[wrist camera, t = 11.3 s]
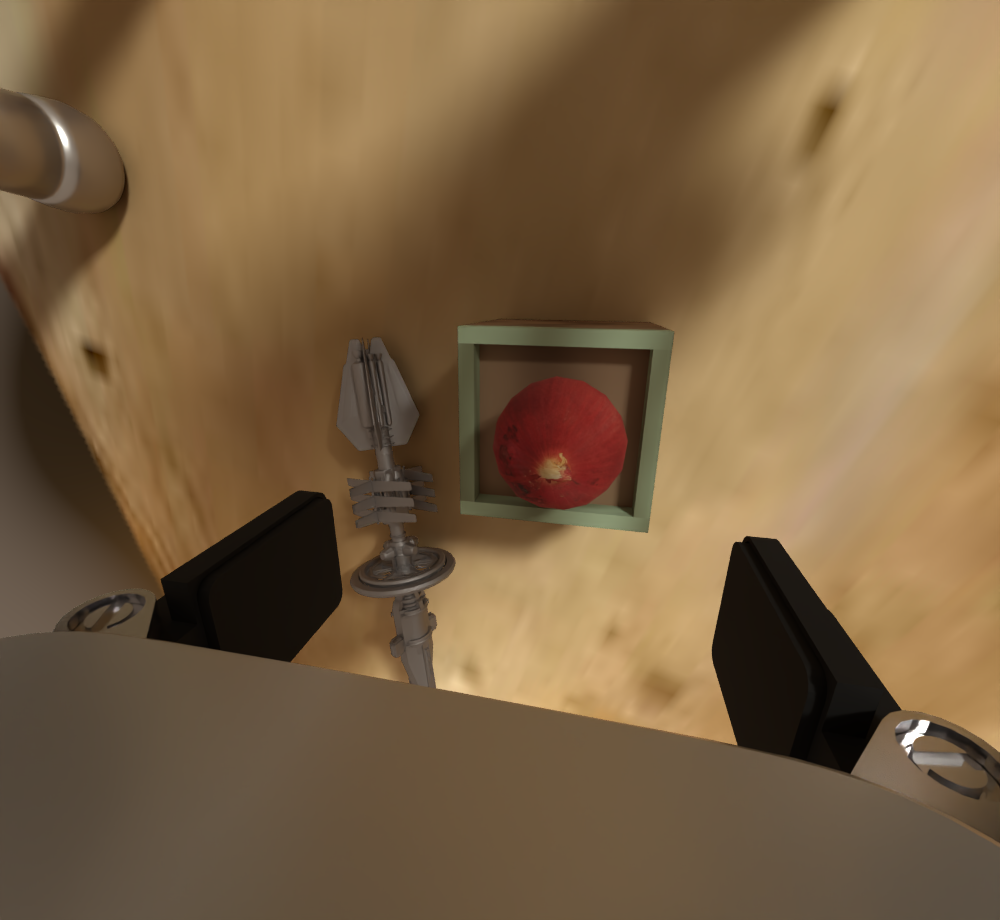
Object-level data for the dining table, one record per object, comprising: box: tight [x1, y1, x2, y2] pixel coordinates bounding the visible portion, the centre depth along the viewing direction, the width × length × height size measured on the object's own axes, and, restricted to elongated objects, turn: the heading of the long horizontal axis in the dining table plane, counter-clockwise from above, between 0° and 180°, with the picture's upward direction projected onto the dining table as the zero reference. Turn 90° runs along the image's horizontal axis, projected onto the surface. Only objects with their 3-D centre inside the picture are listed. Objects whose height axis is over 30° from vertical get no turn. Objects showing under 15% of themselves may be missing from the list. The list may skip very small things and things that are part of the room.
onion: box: [493, 376, 628, 510], centre depth 20 cm, size 6×6×8 cm
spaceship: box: [336, 337, 456, 688], centre depth 36 cm, size 8×35×8 cm
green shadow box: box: [458, 319, 674, 533], centre depth 28 cm, size 10×11×10 cm
